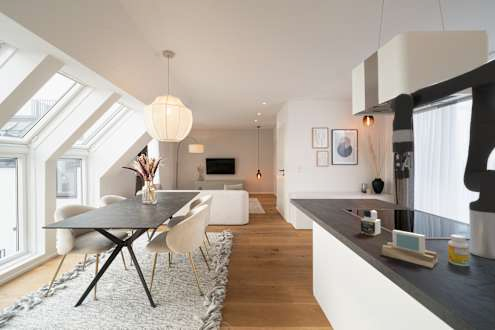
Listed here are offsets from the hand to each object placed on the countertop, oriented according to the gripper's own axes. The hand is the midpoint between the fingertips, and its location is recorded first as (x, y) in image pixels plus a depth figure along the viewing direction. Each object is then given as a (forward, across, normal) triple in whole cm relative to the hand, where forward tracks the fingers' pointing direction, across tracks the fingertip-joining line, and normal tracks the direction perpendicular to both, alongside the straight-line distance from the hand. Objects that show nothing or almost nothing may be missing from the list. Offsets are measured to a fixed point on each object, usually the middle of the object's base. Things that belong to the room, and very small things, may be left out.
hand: (403, 178), depth 100 cm
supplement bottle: (+30, +5, +18) cm, 35 cm away
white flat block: (+28, +12, +4) cm, 31 cm away
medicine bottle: (+30, -11, -18) cm, 37 cm away
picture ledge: (+29, +12, +4) cm, 32 cm away
